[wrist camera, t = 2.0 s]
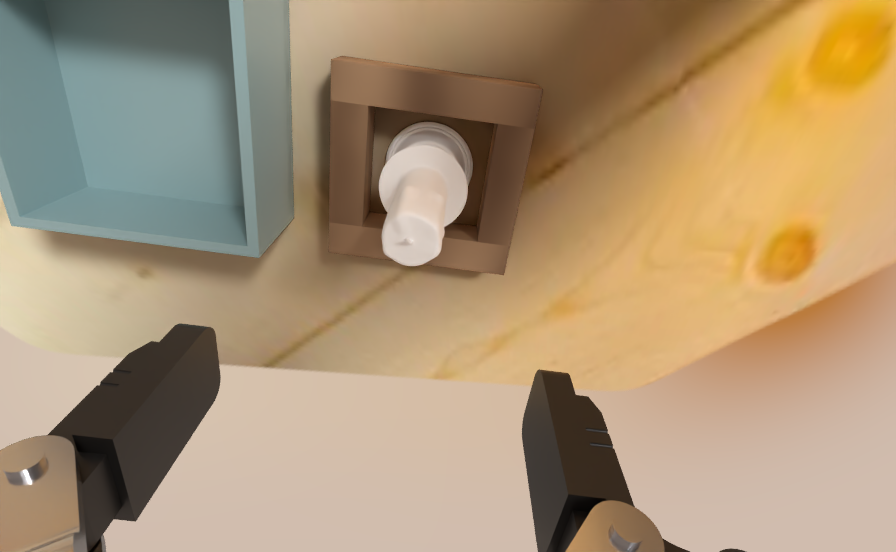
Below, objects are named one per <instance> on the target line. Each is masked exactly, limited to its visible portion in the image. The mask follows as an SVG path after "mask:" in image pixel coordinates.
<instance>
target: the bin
mask: <svg viewBox="0 0 896 552" xmlns="http://www.w3.org/2000/svg"><path fill="white" fill-rule="evenodd" d="M0 192H1V195H2V198H3V201H4V204H5V207H6V211H7V214H8V217H9V220H10V223H11V226H17V227H25V228H33V229H40V230H48V231H56V232H63V233H71V234H79V235H87V236H94V237H102V238H110V239H117V240H125V241H133V242H141V243H148V244H156V245H164V246H171V247H179V248H187V249H195V250H202V251H210V252H218V253H225V254H233V255H241V256H249V257H256V258H260V257H261V255H262V254H263V253H264V252H265V251H266V250H267V248H268V247H269V246H270V245H271V244H272V243H273V241H274V240H275V239H276V238H277V237H278V236H279V235H280V233H281V232H282V231H283V230H284V229H285V228H286V226H287V225H288V224H289V223H290V222H291V221H292V220H293V218H294V193H293V152H292V110H291V69H290V28H289V0H0Z"/></svg>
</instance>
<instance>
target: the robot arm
mask: <svg viewBox="0 0 896 552" xmlns="http://www.w3.org/2000/svg"><path fill="white" fill-rule="evenodd" d="M219 386H220V369H219V360H218V352H217V343H216V335H215V331H214V329H213V328H211V327H204V326H196V325H188V324H177V325H175V326H174V327H173V328H172V329H171V330H170V331H169V333H168V334H167V335H166V336H165V337H164V338H163V339H162V340H161V341H160V342H153V341H151V342H149V343H148V344H146V345H144V346H142V347H140V348H138V349H137V350H135V351H133V352H131V353H129V354H128V355H127V356H126V357H125V358H124V359H123V360H122V361H121V362H120V364H118V365H117V366H116V367H115V368H114V370H113V373H111V372H110V373H109V374H108V375H107V376H106V377H105V378H104V379H103V380H102V381H101V384H100V386H96V387H95V388H94V389H93V390H92V391H91V392H90V393H89V394H88V395H87V396H86V397H85V398H84V399H83V400H82V401H81V402H80V403H79V404H78V405H77V406H76V407H75V408H74V409H73V410H72V411H71V412H70V413H69V414H68V415H67V416H66V417H65V418H64V419H63V420H62V421H61V422H60V423H59V424H58V425H57V426H56V427H55V428H54V429H53V430H52V431H51V432H50V433H49V434H48V435H46V436H36V437H32V438H28V439H24V440H22V441H19V442H16V443H14V444H11V445H9V446H7V447H5V448H4V449H2V450H0V552H106V546H105V539H104V536H103V533H104V532H105V530H106V529H107V528H108V526H109V525H110V523H111V522H112V520H113V519H119V520H127V521H136V520H137V518H138V517H139V515H140V514H141V512H142V511H143V509H144V508H145V506H146V505H147V503H148V502H149V500H150V498H151V497H152V495H153V494H154V492H155V491H156V489H157V488H158V486H159V485H160V483H161V482H162V480H163V479H164V477H165V476H166V474H167V473H168V471H169V470H170V468H171V466H172V465H173V463H174V462H175V460H176V459H177V457H178V456H179V454H180V453H181V451H182V450H183V448H184V447H185V445H186V444H187V442H188V441H189V439H190V438H191V436H192V434H193V433H194V431H195V430H196V428H197V427H198V425H199V424H200V422H201V421H202V419H203V418H204V416H205V415H206V413H207V411H208V410H209V409H210V407H211V406H212V404H213V402H214V401H215V399H216V396H217V394H218V391H219ZM607 431H608V430H607V427H606V424H605V422H604V419H603V416H602V413H601V412H600V410H599V409H598V408H597V407H596V406H595V404H594V403H593V402H592V401H591V400H590V398H589V397H587V396H579V395H576V394H575V391H574V388H573V384H572V381H571V378H570V375H569V374H568V373H562V372H554V371H546V370H538V371H537V372H536V374H535V377H534V381H533V385H532V388H531V392H530V395H529V399H528V403H527V406H526V410H525V413H524V418H523V426H522V440H523V447H524V455H525V462H526V468H527V476H528V483H529V491H530V498H531V505H532V512H533V519H534V525H535V534H536V541H537V548H538V552H690V551H687V550H685V549H682V548H680V547H677V546H675V545H673V544H671V543H669V542H668V541H666V540H664V539H662V537H661V535H660V533H659V531H658V529H657V527H656V526H655V525H654V523H653V522H652V521H651V520H650V519H649V518H648V517H647V516H646V515H645V514H644V513H642V512H641V511H640V510H638V509H637V508H635V506H634V505H633V501H632V498H631V496H630V493H629V490H628V488H627V484H626V481H625V479H624V476H623V473H622V470H621V467H620V464H619V462H618V459H617V456H616V453H615V450H614V449H613V444H612V441H611V438H610V436H609V434H608V433H607ZM720 552H745V551H742V550H738V549H725V550H722V551H720Z"/></svg>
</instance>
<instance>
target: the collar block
mask: <svg viewBox="0 0 896 552" xmlns="http://www.w3.org/2000/svg"><path fill="white" fill-rule="evenodd" d="M542 93H543V89H542V88H540V87H539V86H538V85H537V84H533V83H526V82H519V81H512V80H505V79H498V78H491V77H484V76H477V75H470V74H463V73H456V72H449V71H443V70H436V69H429V68H422V67H415V66H408V65H401V64H394V63H387V62H380V61H373V60H366V59H359V58H353V57H346V56H341V57H337V58H334V59H331V105H330V182H329V252H331V253H339V254H347V255H354V256H362V257H370V258H377V259H385V260H393V259H391V258H389V257H388V256H386V255H385V254H384V252H383V245H382V229H383V225H384V222H385V219H386V216H387V214H381V213H374V212H370V195H371V177H372V159H373V141H374V123H375V107H382V108H389V109H396V110H403V111H410V112H418V113H425V114H432V115H439V116H446V117H453V118H460V119H467V120H474V121H481V122H488V123H494V127H493V133H492V139H491V145H490V151H489V157H488V162H487V168H486V174H485V180H484V186H483V192H482V198H481V203H480V209H479V215H478V221H477V226H471V225H463V224H456V223H450V224H449V225H447V226H445V227H444V231H445V232H444V237H443V239H442V248H441V252H440V253H439V255H438V256H437V257H435V258H434V259H432V260H430V261H428V262H426V263H425V264H423V265H431V266H438V267H446V268H454V269H461V270H469V271H477V272H484V273H492V274H500V275H504V272H505V268H506V263H507V258H508V253H509V249H510V244H511V239H512V235H513V230H514V225H515V220H516V216H517V211H518V206H519V201H520V197H521V192H522V187H523V182H524V178H525V173H526V168H527V164H528V159H529V154H530V149H531V145H532V140H533V135H534V130H535V126H536V121H537V116H538V111H539V107H540V102H541V97H542ZM393 261H394V260H393Z"/></svg>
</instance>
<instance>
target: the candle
mask: <svg viewBox="0 0 896 552" xmlns="http://www.w3.org/2000/svg"><path fill="white" fill-rule="evenodd" d="M472 171H473V161H472V156H471V152H470V150H469V147H468V145H467V144H466V142H465V141H464V139H463V138H462V137H461V136H460V135H459V134H458V133H457V132H456V131H454V130H453V129H451V128H450V127H448V126H446V125H443V124H440V123H436V122H420V123H416V124H413V125H410V126H408V127H407V128H405V129H403V130H402V131H401V132H400V133H399V134H398V135H397V136H396V137H395V138H394V139H393V141H392V142H391V144H390V146H389V148H388V151H387V155H386V164H385V166H384V168H383V170H382V172H381V175H380V179H379V194H380V199H381V202H382V204H383V206H384V208H385V210H386V211H387V213H388V214H387V216H386V219H385V222H384V225H383V229H382V245H383V252H384V254H385V255H386V256H388V257H389V258H391V259H393V260H394V261H396V262H397V263H399V264H402V265H406V266H419V265H422V264H425V263H426V262H428V261H430V260H432V259H434V258H435V257H437V256H438V255H439V253H440V252H441V248H442V239H443V237H444V232H445V231H444V227H445V226H447V225H449V224H450V223H452V222H453V221H454V220H455V219H456V218H457V217H458V216H459V214H460V213H461V212H462V210H463V208H464V206H465V203H466V200H467V194H468V185H469V183H470V180H471V177H472Z"/></svg>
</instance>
